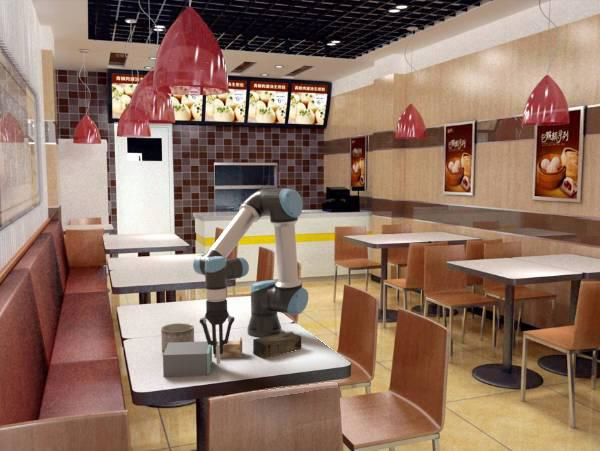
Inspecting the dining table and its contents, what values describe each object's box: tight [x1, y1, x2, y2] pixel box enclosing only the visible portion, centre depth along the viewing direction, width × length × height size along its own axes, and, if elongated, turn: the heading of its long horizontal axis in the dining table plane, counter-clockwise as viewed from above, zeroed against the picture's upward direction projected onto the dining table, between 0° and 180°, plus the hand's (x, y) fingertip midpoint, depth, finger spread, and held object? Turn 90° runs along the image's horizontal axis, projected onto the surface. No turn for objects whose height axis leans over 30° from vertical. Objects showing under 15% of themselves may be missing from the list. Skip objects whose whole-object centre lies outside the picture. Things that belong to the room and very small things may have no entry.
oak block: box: [213, 337, 243, 358], centre depth 222 cm, size 11×5×6 cm, turn 95°
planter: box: [160, 322, 195, 354], centre depth 225 cm, size 13×13×10 cm
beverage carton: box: [252, 331, 303, 359], centre depth 226 cm, size 8×19×7 cm, turn 127°
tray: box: [206, 345, 213, 375], centre depth 207 cm, size 15×14×7 cm
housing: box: [162, 340, 208, 378], centre depth 207 cm, size 15×15×8 cm
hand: (218, 362), depth 208 cm, fingers closed
